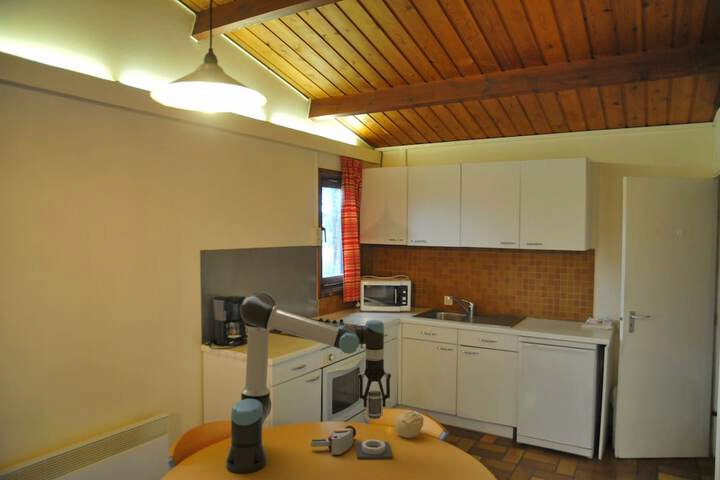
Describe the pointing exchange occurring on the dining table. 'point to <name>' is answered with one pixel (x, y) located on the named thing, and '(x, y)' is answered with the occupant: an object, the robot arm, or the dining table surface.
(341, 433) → the film camera
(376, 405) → the lens
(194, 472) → the dining table surface
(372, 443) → the mount
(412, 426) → the cream crumpled ball
